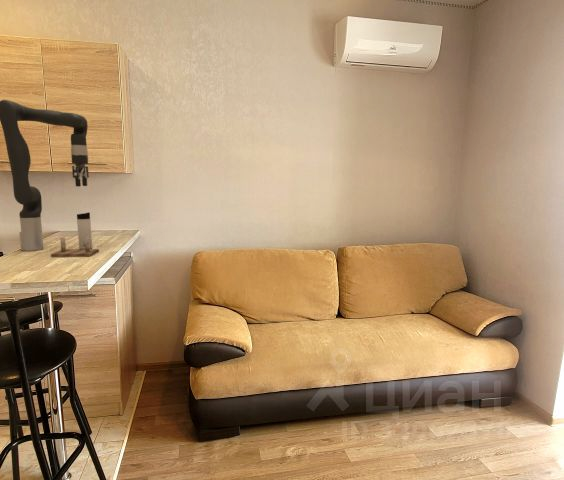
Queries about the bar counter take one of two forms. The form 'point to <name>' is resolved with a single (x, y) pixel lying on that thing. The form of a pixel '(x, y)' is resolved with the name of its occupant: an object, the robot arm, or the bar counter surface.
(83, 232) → the travel mug
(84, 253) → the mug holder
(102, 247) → the bar counter surface
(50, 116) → the robot arm
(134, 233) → the bar counter surface
